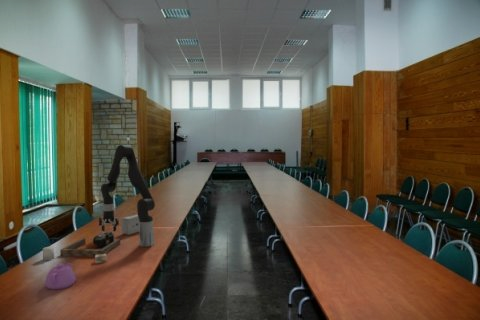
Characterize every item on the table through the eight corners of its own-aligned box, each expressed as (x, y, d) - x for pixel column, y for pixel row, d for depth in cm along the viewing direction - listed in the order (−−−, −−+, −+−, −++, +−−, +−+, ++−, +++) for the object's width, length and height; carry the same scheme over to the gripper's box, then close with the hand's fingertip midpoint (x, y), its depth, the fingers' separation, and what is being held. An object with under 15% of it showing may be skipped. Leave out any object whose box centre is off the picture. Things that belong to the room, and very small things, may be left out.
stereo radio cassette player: (141, 228, 286) (140, 204, 285) (148, 229, 282) (148, 205, 281) (121, 234, 268) (120, 209, 267) (128, 235, 264) (127, 210, 263)
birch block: (106, 260, 210) (106, 253, 210) (106, 262, 206) (105, 255, 206) (95, 261, 208) (95, 254, 207) (95, 263, 204) (95, 257, 204)
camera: (103, 242, 247) (103, 228, 247) (115, 243, 244) (115, 229, 244) (88, 248, 232) (87, 234, 232) (101, 250, 229) (100, 235, 229)
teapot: (83, 276, 185) (82, 256, 184) (66, 292, 165) (66, 270, 164) (56, 276, 184) (56, 257, 183) (37, 293, 164) (36, 271, 163)
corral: (120, 244, 241) (120, 238, 241) (102, 256, 215) (102, 250, 215) (82, 243, 243) (82, 238, 243) (60, 255, 217) (60, 249, 217)
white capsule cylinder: (56, 257, 215) (55, 246, 214) (50, 260, 209) (49, 249, 208) (47, 257, 215) (46, 246, 215) (40, 260, 209) (40, 249, 209)
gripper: (120, 208, 256) (120, 230, 257) (101, 208, 257) (102, 229, 258) (115, 210, 249) (115, 232, 250) (96, 210, 250) (97, 232, 251)
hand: (109, 231), depth 254 cm, fingers open, 8 cm apart
